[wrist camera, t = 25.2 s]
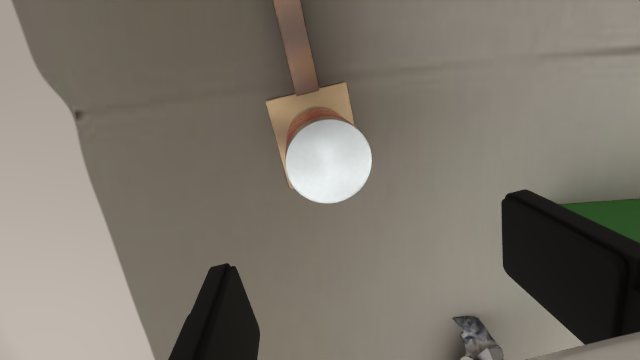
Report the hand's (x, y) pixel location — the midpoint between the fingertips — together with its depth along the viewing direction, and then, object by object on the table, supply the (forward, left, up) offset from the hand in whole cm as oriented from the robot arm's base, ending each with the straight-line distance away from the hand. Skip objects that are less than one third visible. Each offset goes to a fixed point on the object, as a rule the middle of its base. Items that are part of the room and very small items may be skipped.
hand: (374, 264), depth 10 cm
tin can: (0, 0, -24) cm, 24 cm away
